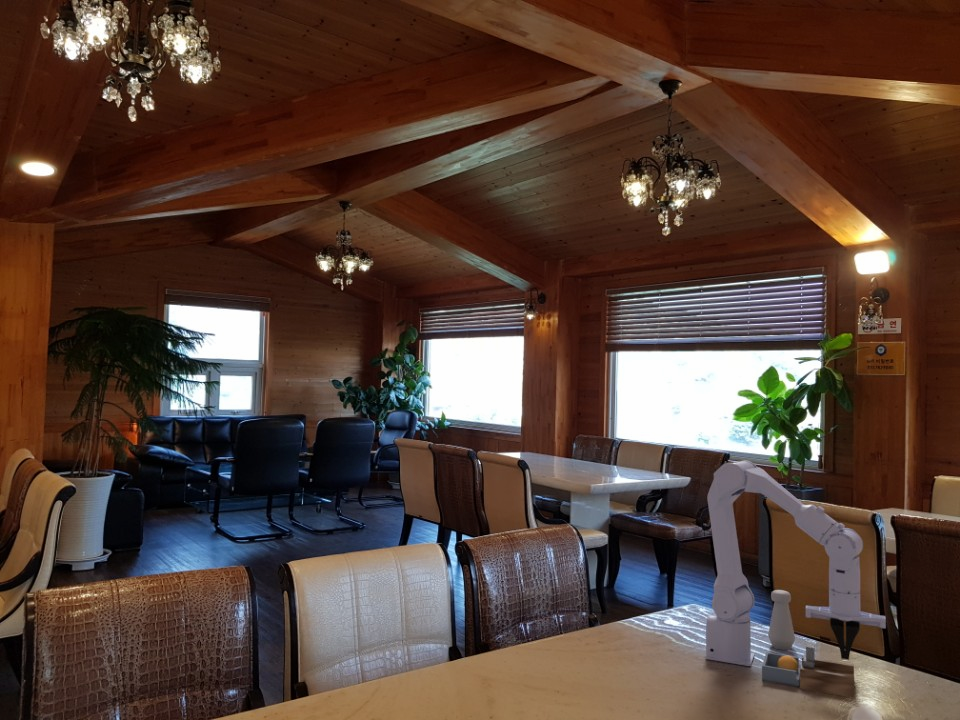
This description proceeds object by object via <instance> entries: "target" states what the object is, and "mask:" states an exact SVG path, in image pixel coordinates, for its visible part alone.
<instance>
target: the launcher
mask: <svg viewBox="0 0 960 720" xmlns="http://www.w3.org/2000/svg"><path fill="white" fill-rule="evenodd" d="M803 659H804V655H803V656H802V657H801V667H800V684H799V689H802V690H807V691H813V692H818V693H823V692H824V693H823V694H829V695H835V696H841V697H847V698H852V699H855V698H856V697H855V696H856V695H855V665H854V664H851V663H846V662H842V661H841V662H839V661H835V660H834V661H832V660H827V659H821V658H816V657H815V670H813V669H807V668H803Z"/></svg>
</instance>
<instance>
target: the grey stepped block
mask: <svg viewBox="0 0 960 720" xmlns="http://www.w3.org/2000/svg"><path fill="white" fill-rule="evenodd" d="M815 645H816V642H815V641H809V640H806V644H805V652H804V653H803V654H804V655H803V657H804V659H803V668H807V669H813V670H815V658H816V653H815V652H816V647H815Z"/></svg>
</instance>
